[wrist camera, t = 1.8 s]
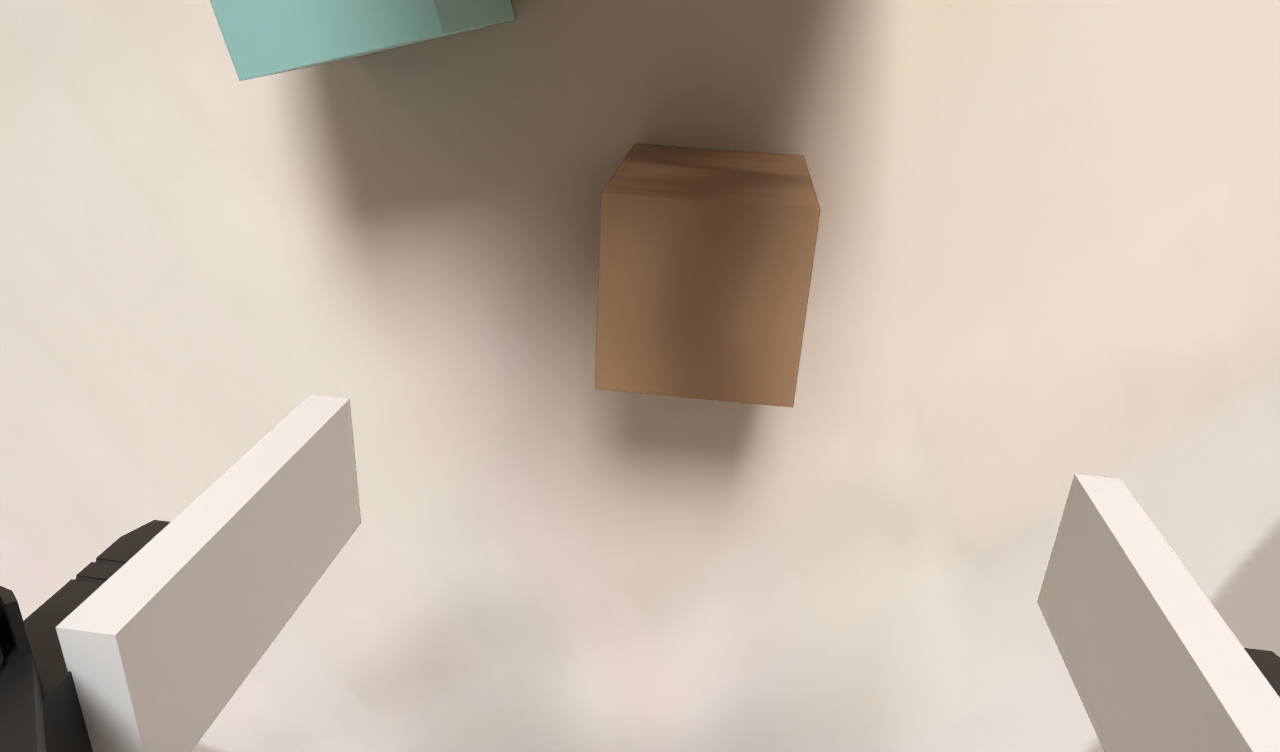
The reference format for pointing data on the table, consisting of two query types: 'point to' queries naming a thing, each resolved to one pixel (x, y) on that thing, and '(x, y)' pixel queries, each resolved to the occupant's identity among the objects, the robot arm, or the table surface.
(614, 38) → the table surface
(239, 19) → the teal block
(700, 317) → the walnut block
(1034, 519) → the table surface
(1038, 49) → the table surface
